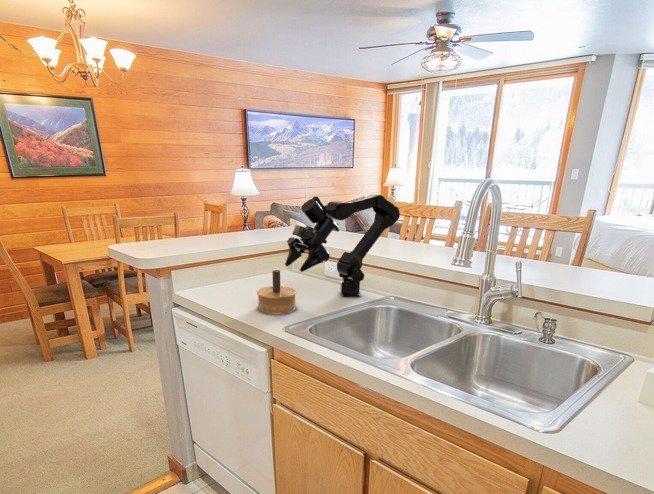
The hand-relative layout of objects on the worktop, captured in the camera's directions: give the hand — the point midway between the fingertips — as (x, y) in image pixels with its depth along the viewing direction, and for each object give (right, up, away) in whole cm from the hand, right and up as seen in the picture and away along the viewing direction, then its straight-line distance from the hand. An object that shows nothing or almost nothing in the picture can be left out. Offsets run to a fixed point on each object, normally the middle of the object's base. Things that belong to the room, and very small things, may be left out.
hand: (293, 268), depth 148 cm
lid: (-6, -8, 0) cm, 10 cm away
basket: (-6, -13, +2) cm, 15 cm away
